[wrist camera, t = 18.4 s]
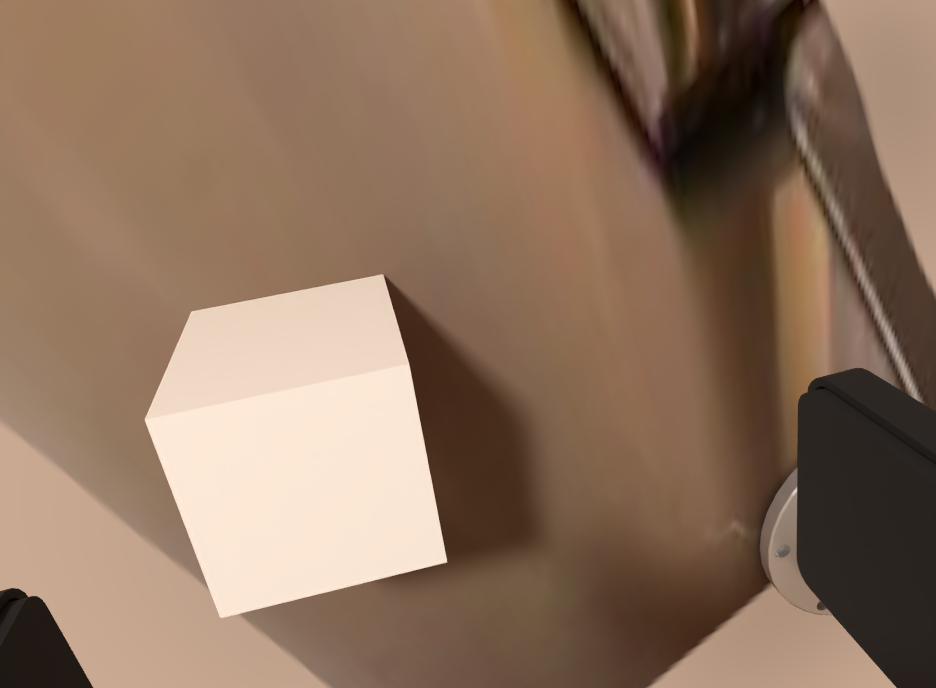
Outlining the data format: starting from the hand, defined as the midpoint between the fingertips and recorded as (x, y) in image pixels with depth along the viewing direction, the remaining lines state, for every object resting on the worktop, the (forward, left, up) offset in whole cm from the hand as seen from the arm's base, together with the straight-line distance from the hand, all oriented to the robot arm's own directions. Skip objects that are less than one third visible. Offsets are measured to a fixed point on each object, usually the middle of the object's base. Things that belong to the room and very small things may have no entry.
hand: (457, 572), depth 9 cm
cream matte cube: (+4, +7, -21) cm, 23 cm away
